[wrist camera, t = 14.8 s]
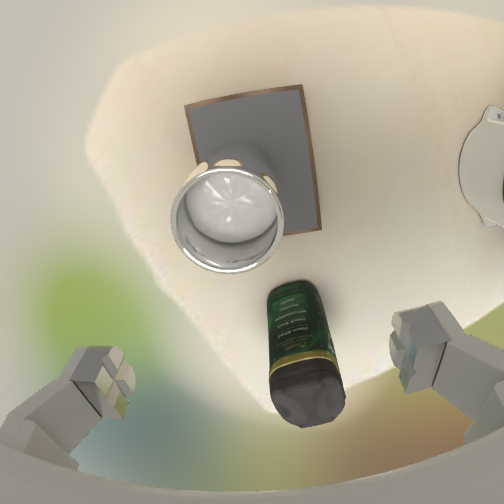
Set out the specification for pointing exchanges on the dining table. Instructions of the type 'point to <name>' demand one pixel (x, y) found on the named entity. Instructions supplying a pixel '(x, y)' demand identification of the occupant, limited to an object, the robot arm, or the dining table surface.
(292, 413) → the coffee jar
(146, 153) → the dining table surface
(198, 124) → the walnut plinth
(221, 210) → the beer glass
